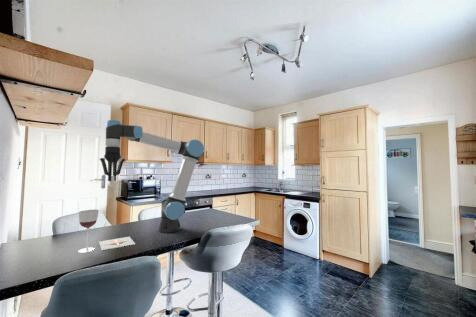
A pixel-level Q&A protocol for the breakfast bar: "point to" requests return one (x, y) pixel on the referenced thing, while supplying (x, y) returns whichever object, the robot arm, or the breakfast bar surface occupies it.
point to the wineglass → (87, 224)
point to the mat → (116, 243)
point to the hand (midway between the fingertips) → (111, 186)
